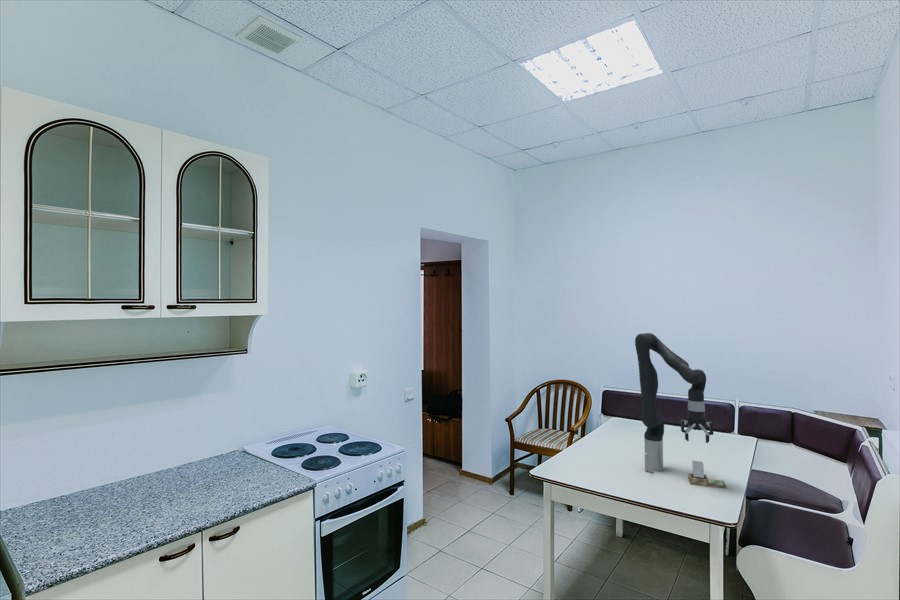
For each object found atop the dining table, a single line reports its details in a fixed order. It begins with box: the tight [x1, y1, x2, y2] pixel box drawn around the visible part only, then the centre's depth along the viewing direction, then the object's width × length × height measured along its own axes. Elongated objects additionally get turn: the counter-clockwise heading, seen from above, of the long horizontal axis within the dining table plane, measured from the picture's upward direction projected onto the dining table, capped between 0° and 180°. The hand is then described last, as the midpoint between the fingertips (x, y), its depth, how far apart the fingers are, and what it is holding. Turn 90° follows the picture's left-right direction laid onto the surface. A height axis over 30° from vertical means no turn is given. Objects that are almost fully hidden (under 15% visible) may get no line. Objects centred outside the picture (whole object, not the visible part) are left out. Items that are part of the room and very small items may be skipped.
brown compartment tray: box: [687, 472, 728, 490], centre depth 224 cm, size 16×11×4 cm
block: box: [691, 460, 705, 479], centre depth 224 cm, size 4×4×10 cm
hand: (697, 441), depth 224 cm, fingers open, 8 cm apart
